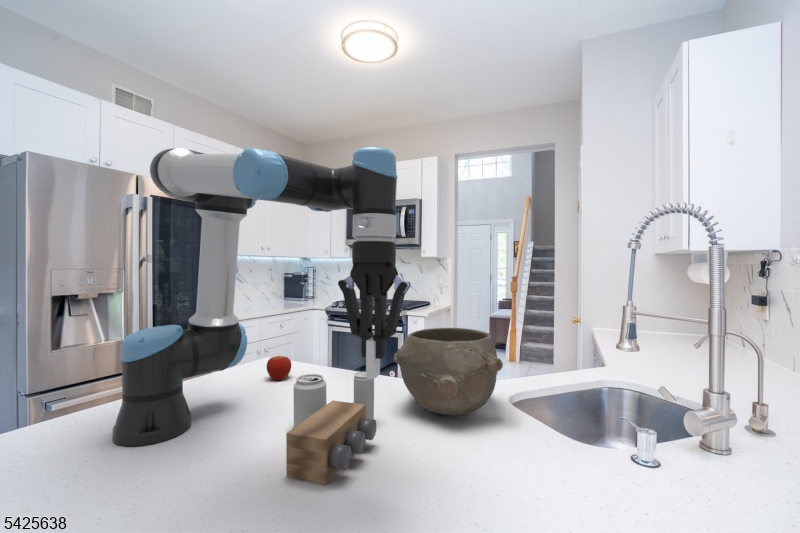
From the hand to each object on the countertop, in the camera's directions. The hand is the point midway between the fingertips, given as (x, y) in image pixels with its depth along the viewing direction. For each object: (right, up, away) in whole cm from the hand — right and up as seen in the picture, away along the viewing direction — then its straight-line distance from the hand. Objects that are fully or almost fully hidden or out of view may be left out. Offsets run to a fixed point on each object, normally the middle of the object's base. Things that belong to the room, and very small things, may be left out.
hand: (372, 376), depth 66 cm
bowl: (+17, -19, +34) cm, 43 cm away
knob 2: (-8, -17, +9) cm, 20 cm away
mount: (-9, -19, +9) cm, 23 cm away
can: (-16, -19, +23) cm, 34 cm away
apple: (-35, -18, +60) cm, 72 cm away
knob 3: (-6, -17, +14) cm, 23 cm away
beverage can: (-4, -19, +25) cm, 31 cm away
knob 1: (-10, -17, +3) cm, 20 cm away
